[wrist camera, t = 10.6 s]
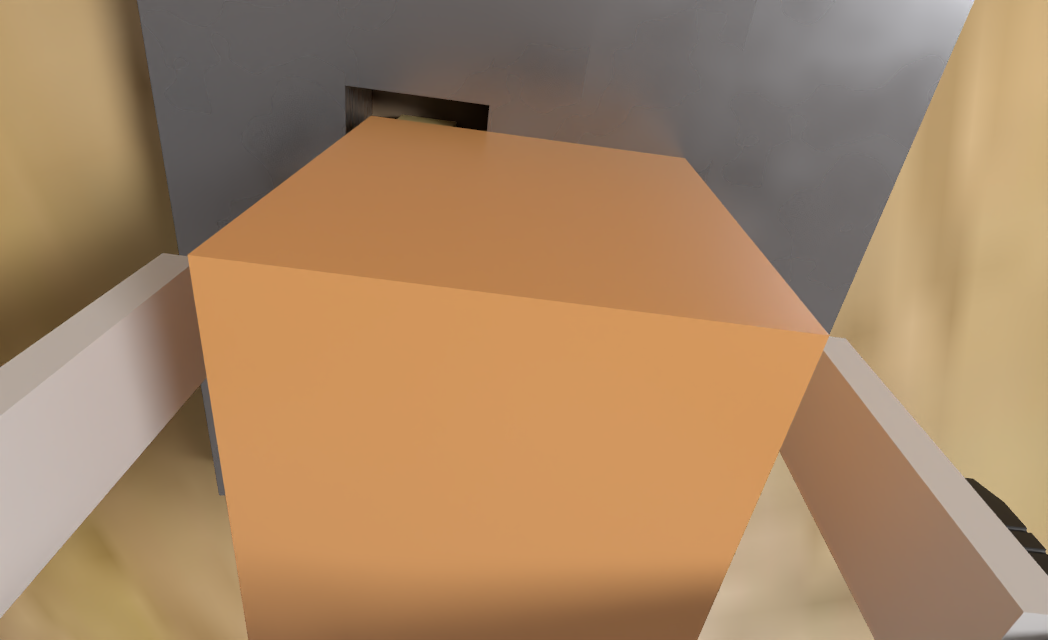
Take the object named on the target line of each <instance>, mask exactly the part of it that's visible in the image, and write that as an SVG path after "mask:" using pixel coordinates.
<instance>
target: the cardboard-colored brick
mask: <svg viewBox="0 0 1048 640" xmlns="http://www.w3.org/2000/svg"><path fill="white" fill-rule="evenodd" d="M188 262H189V268H190V274H191V281H192V287H193V293H194V300H195V306H196V312H197V319H198V325H199V331H200V337H201V344H202V350H203V356H204V363H205V369H206V375H207V382H208V388H209V394H210V400H211V407H212V413H213V419H214V426H215V432H216V438H217V445H218V451H219V457H220V464H221V470H222V476H223V482H224V489H225V495H226V501H227V508H228V514H229V520H230V527H231V533H232V539H233V546H234V552H235V558H236V564H237V571H238V577H239V583H240V590H241V596H242V602H243V609H244V615H245V621H246V627H247V634H248V640H697V639H698V637H699V635H700V632H701V630H702V628H703V625H704V623H705V621H706V619H707V616H708V614H709V612H710V609H711V607H712V605H713V602H714V600H715V598H716V596H717V593H718V591H719V589H720V586H721V584H722V582H723V579H724V577H725V575H726V573H727V570H728V568H729V566H730V563H731V561H732V559H733V556H734V554H735V552H736V550H737V547H738V545H739V543H740V540H741V538H742V536H743V534H744V531H745V529H746V527H747V524H748V522H749V520H750V517H751V515H752V513H753V511H754V508H755V506H756V504H757V501H758V499H759V497H760V494H761V492H762V490H763V488H764V485H765V483H766V481H767V478H768V476H769V474H770V471H771V469H772V467H773V465H774V462H775V460H776V458H777V455H778V453H779V451H780V448H781V446H782V444H783V442H784V439H785V437H786V435H787V432H788V430H789V428H790V426H791V423H792V421H793V419H794V416H795V414H796V412H797V409H798V407H799V405H800V403H801V400H802V398H803V396H804V393H805V391H806V389H807V386H808V384H809V382H810V380H811V377H812V375H813V373H814V370H815V368H816V366H817V363H818V361H819V359H820V357H821V354H822V352H823V350H824V347H825V345H826V343H827V340H828V338H829V336H830V335H829V334H828V333H827V332H826V331H825V329H824V328H823V327H822V326H821V324H820V323H819V322H818V321H817V319H816V318H815V317H814V316H813V315H812V313H811V312H810V311H809V310H808V308H807V307H806V306H805V305H804V304H803V302H802V301H801V300H800V299H799V297H798V296H797V295H796V294H795V292H794V291H793V290H792V289H791V288H790V286H789V285H788V284H787V283H786V281H785V280H784V279H783V278H782V276H781V275H780V274H779V273H778V272H777V270H776V269H775V268H774V267H773V265H772V264H771V263H770V262H769V261H768V259H767V258H766V257H765V256H764V254H763V253H762V252H761V251H760V249H759V248H758V247H757V246H756V245H755V243H754V242H753V241H752V240H751V238H750V237H749V236H748V235H747V234H746V232H745V231H744V230H743V229H742V227H741V226H740V225H739V224H738V222H737V221H736V220H735V219H734V218H733V216H732V215H731V214H730V213H729V211H728V210H727V209H726V208H725V207H724V205H723V204H722V203H721V202H720V200H719V199H718V198H717V197H716V195H715V194H714V193H713V192H712V191H711V189H710V188H709V187H708V186H707V184H706V183H705V182H704V181H703V180H702V178H701V177H700V176H699V175H698V173H697V172H696V171H695V170H694V168H693V167H692V166H691V165H690V164H689V162H688V161H687V160H686V159H685V158H680V157H672V156H665V155H658V154H650V153H643V152H635V151H628V150H621V149H613V148H606V147H599V146H591V145H584V144H576V143H569V142H562V141H554V140H547V139H539V138H532V137H525V136H517V135H510V134H503V133H495V132H488V131H480V130H473V129H466V128H458V127H456V122H454V121H446V120H439V119H432V118H424V117H417V116H409V115H401V116H400V117H399V118H398V119H392V118H384V117H377V116H370V117H368V118H367V119H366V120H365V121H363V122H362V123H361V124H359V125H358V126H357V127H355V128H354V129H353V130H351V131H350V132H349V133H347V134H346V135H345V136H343V137H342V138H341V139H339V140H338V141H337V142H336V143H334V144H333V145H332V146H330V147H329V148H328V149H326V150H325V151H324V152H322V153H321V154H320V155H318V156H317V157H316V158H314V159H313V160H312V161H310V162H309V163H308V164H307V165H305V166H304V167H303V168H301V169H300V170H299V171H297V172H296V173H295V174H293V175H292V176H291V177H289V178H288V179H287V180H285V181H284V182H283V183H281V184H280V185H279V186H278V187H276V188H275V189H274V190H272V191H271V192H270V193H268V194H267V195H266V196H264V197H263V198H262V199H260V200H259V201H258V202H256V203H255V204H254V205H253V206H251V207H250V208H249V209H247V210H246V211H245V212H243V213H242V214H241V215H239V216H238V217H237V218H235V219H234V220H233V221H231V222H230V223H229V224H227V225H226V226H225V227H224V228H222V229H221V230H220V231H218V232H217V233H216V234H214V235H213V236H212V237H210V238H209V239H208V240H206V241H205V242H204V243H202V244H201V245H200V246H198V247H197V248H196V249H195V250H193V251H192V252H191V253H189V254H188Z"/></svg>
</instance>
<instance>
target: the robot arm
mask: <svg viewBox="0 0 1048 640" xmlns="http://www.w3.org/2000/svg"><path fill="white" fill-rule="evenodd" d="M206 378H207V375H206V369H205V363H204V356H203V350H202V344H201V337H200V331H199V325H198V319H197V312H196V306H195V300H194V293H193V287H192V281H191V274H190V268H189V262H188V256H182V255H174V254H166V253H162V254H160V255H159V256H158V257H156V258H155V259H153V260H152V261H150V262H149V263H148V264H146V265H145V266H143V267H142V268H140V269H139V270H138V271H136V272H135V273H133V274H132V275H131V276H129V277H128V278H126V279H125V280H123V281H122V282H121V283H119V284H118V285H116V286H115V287H114V288H112V289H111V290H109V291H108V292H106V293H105V294H104V295H102V296H101V297H99V298H98V299H96V300H95V301H94V302H92V303H91V304H89V305H88V306H87V307H85V308H84V309H82V310H81V311H79V312H78V313H77V314H75V315H74V316H72V317H71V318H70V319H68V320H67V321H65V322H64V323H62V324H61V325H60V326H58V327H57V328H55V329H54V330H53V331H51V332H50V333H48V334H47V335H45V336H44V337H43V338H41V339H40V340H38V341H37V342H35V343H34V344H33V345H31V346H30V347H28V348H27V349H26V350H24V351H23V352H21V353H20V354H18V355H17V356H16V357H14V358H13V359H11V360H10V361H9V362H7V363H6V364H4V365H3V366H1V367H0V618H1V617H2V616H3V614H4V613H5V612H6V611H7V610H8V609H9V607H10V606H11V605H12V604H13V603H14V602H15V600H16V599H17V598H18V597H19V596H20V595H21V593H22V592H23V591H24V590H25V589H26V588H27V586H28V585H29V584H30V583H31V582H32V581H33V579H34V578H35V577H36V576H37V575H38V574H39V572H40V571H41V570H42V569H43V568H44V567H45V565H46V564H47V563H48V562H49V561H50V560H51V558H52V557H53V556H54V555H55V554H56V553H57V551H58V550H59V549H60V548H61V547H62V546H63V544H64V543H65V542H66V541H67V540H68V539H69V537H70V536H71V535H72V534H73V533H74V532H75V530H76V529H77V528H78V527H79V526H80V525H81V523H82V522H83V521H84V520H85V519H86V518H87V516H88V515H89V514H90V513H91V512H92V511H93V509H94V508H95V507H96V506H97V505H98V504H99V502H100V501H101V500H102V499H103V498H104V497H105V495H106V494H107V493H108V492H109V491H110V490H111V488H112V487H113V486H114V485H115V484H116V483H117V481H118V480H119V479H120V478H121V477H122V476H123V474H124V473H125V472H126V471H127V470H128V469H129V467H130V466H131V465H132V464H133V463H134V462H135V460H136V459H137V458H138V457H139V456H140V455H141V453H142V452H143V451H144V450H145V449H146V448H147V446H148V445H149V444H150V443H151V442H152V441H153V439H154V438H155V437H156V436H157V435H158V434H159V432H160V431H161V430H162V429H163V428H164V427H165V425H166V424H167V423H168V422H169V421H170V420H171V418H172V417H173V416H174V415H175V414H176V413H177V411H178V410H179V409H180V408H181V407H182V406H183V404H184V403H185V402H186V401H187V400H188V399H189V397H190V396H191V395H192V394H193V393H194V392H195V390H196V389H197V388H198V387H199V386H200V385H201V383H202V382H203V381H204V380H205V379H206ZM780 453H781V455H782V457H783V459H784V461H785V463H786V465H787V467H788V469H789V471H790V473H791V475H792V477H793V479H794V481H795V483H796V485H797V487H798V489H799V491H800V493H801V495H802V497H803V499H804V501H805V503H806V505H807V507H808V509H809V510H810V512H811V514H812V516H813V518H814V520H815V522H816V524H817V526H818V528H819V530H820V532H821V534H822V536H823V538H824V540H825V542H826V544H827V546H828V548H829V550H830V552H831V554H832V556H833V558H834V560H835V562H836V564H837V566H838V568H839V570H840V572H841V574H842V576H843V578H844V580H845V582H846V584H847V586H848V588H849V590H850V592H851V594H852V595H853V597H854V599H855V601H856V603H857V605H858V607H859V609H860V611H861V613H862V615H863V617H864V619H865V621H866V623H867V625H868V627H869V629H870V631H871V633H872V635H873V637H874V639H875V640H1048V555H1047V554H1046V552H1045V551H1046V549H1045V548H1044V547H1043V546H1042V544H1041V543H1040V542H1039V541H1038V540H1037V539H1036V538H1035V537H1034V535H1033V534H1032V533H1027V531H1026V529H1027V528H1026V526H1025V525H1024V524H1023V523H1022V522H1021V521H1020V520H1019V519H1018V517H1017V516H1016V515H1015V514H1014V513H1013V512H1012V511H1011V510H1010V508H1009V507H1008V506H1007V505H1006V504H1005V503H1004V502H1003V501H1002V500H1000V499H999V498H998V497H996V496H995V495H994V494H992V493H991V492H990V491H988V490H987V489H986V488H984V487H983V486H982V485H980V484H979V483H978V482H977V481H975V480H974V479H970V478H964V477H963V476H962V475H961V473H960V472H959V471H958V470H957V469H956V467H955V466H954V465H953V464H952V463H951V462H950V460H949V459H948V458H947V457H946V456H945V455H944V453H943V452H942V451H941V450H940V449H939V448H938V446H937V445H936V444H935V443H934V442H933V441H932V439H931V438H930V437H929V436H928V435H927V434H926V432H925V431H924V430H923V429H922V428H921V426H920V425H919V424H918V423H917V422H916V421H915V419H914V418H913V417H912V416H911V415H910V414H909V412H908V411H907V410H906V409H905V408H904V407H903V405H902V404H901V403H900V402H899V401H898V400H897V398H896V397H895V396H894V395H893V394H892V392H891V391H890V390H889V389H888V388H887V387H886V385H885V384H884V383H883V382H882V381H881V380H880V378H879V377H878V376H877V375H876V374H875V373H874V371H873V370H872V369H871V368H870V367H869V366H868V364H867V363H866V362H865V361H864V360H863V359H862V357H861V356H860V355H859V354H858V353H857V351H856V350H855V349H854V348H853V347H852V346H851V344H850V343H849V342H848V341H847V340H846V339H845V338H837V337H829V338H828V340H827V343H826V345H825V347H824V350H823V352H822V354H821V357H820V359H819V361H818V363H817V366H816V368H815V370H814V373H813V375H812V377H811V380H810V382H809V384H808V386H807V389H806V391H805V393H804V396H803V398H802V400H801V403H800V405H799V407H798V409H797V412H796V414H795V416H794V419H793V421H792V423H791V426H790V428H789V430H788V432H787V435H786V437H785V439H784V442H783V444H782V446H781V448H780Z"/></svg>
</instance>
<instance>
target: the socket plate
mask: <svg viewBox="0 0 1048 640" xmlns="http://www.w3.org/2000/svg"><path fill="white" fill-rule="evenodd" d="M973 2H974V0H137V3H138V9H139V15H140V21H141V27H142V33H143V39H144V45H145V51H146V57H147V63H148V69H149V75H150V81H151V87H152V93H153V99H154V105H155V111H156V117H157V123H158V129H159V135H160V142H161V148H162V154H163V160H164V166H165V172H166V178H167V184H168V190H169V196H170V202H171V208H172V214H173V220H174V226H175V232H176V238H177V244H178V250H179V255H182V256H188V254H189V253H191V252H192V251H193V250H195V249H196V248H197V247H198V246H200V245H201V244H202V243H204V242H205V241H206V240H208V239H209V238H210V237H212V236H213V235H214V234H216V233H217V232H218V231H220V230H221V229H222V228H224V227H225V226H226V225H227V224H229V223H230V222H231V221H233V220H234V219H235V218H237V217H238V216H239V215H241V214H242V213H243V212H245V211H246V210H247V209H249V208H250V207H251V206H253V205H254V204H255V203H256V202H258V201H259V200H260V199H262V198H263V197H264V196H266V195H267V194H268V193H270V192H271V191H272V190H274V189H275V188H276V187H278V186H279V185H280V184H281V183H283V182H284V181H285V180H287V179H288V178H289V177H291V176H292V175H293V174H295V173H296V172H297V171H299V170H300V169H301V168H303V167H304V166H305V165H307V164H308V163H309V162H310V161H312V160H313V159H314V158H316V157H317V156H318V155H320V154H321V153H322V152H324V151H325V150H326V149H328V148H329V147H330V146H332V145H333V144H334V143H336V142H337V141H338V140H339V139H341V138H342V137H343V136H345V135H346V134H347V133H349V132H350V131H351V130H353V129H354V128H355V127H357V126H358V125H359V124H361V123H362V122H363V121H365V120H366V119H367V118H368V117H370V116H372V89H375V90H382V91H389V92H397V93H404V94H411V95H418V96H426V97H433V98H440V99H448V100H455V101H462V102H470V103H477V104H484V105H489V115H488V126H487V131H488V132H495V133H503V134H510V135H517V136H525V137H532V138H539V139H547V140H554V141H562V142H569V143H576V144H584V145H591V146H599V147H606V148H613V149H621V150H628V151H635V152H643V153H650V154H658V155H665V156H672V157H680V158H685V159H686V160H687V161H688V162H689V164H690V165H691V166H692V167H693V168H694V170H695V171H696V172H697V173H698V175H699V176H700V177H701V178H702V180H703V181H704V182H705V183H706V184H707V186H708V187H709V188H710V189H711V191H712V192H713V193H714V194H715V195H716V197H717V198H718V199H719V200H720V202H721V203H722V204H723V205H724V207H725V208H726V209H727V210H728V211H729V213H730V214H731V215H732V216H733V218H734V219H735V220H736V221H737V222H738V224H739V225H740V226H741V227H742V229H743V230H744V231H745V232H746V234H747V235H748V236H749V237H750V238H751V240H752V241H753V242H754V243H755V245H756V246H757V247H758V248H759V249H760V251H761V252H762V253H763V254H764V256H765V257H766V258H767V259H768V261H769V262H770V263H771V264H772V265H773V267H774V268H775V269H776V270H777V272H778V273H779V274H780V275H781V276H782V278H783V279H784V280H785V281H786V283H787V284H788V285H789V286H790V288H791V289H792V290H793V291H794V292H795V294H796V295H797V296H798V297H799V299H800V300H801V301H802V302H803V304H804V305H805V306H806V307H807V308H808V310H809V311H810V312H811V313H812V315H813V316H814V317H815V318H816V319H817V321H818V322H819V323H820V324H821V326H822V327H823V328H824V329H825V331H826V332H827V333H828V334H830V332H831V329H832V327H833V325H834V322H835V320H836V318H837V315H838V313H839V311H840V309H841V306H842V304H843V302H844V299H845V297H846V295H847V292H848V290H849V288H850V286H851V283H852V281H853V279H854V276H855V274H856V272H857V269H858V267H859V265H860V263H861V260H862V258H863V256H864V253H865V251H866V249H867V246H868V244H869V242H870V239H871V237H872V235H873V233H874V230H875V228H876V226H877V223H878V221H879V219H880V216H881V214H882V212H883V210H884V207H885V205H886V203H887V200H888V198H889V196H890V193H891V191H892V189H893V186H894V184H895V182H896V180H897V177H898V175H899V173H900V170H901V168H902V166H903V163H904V161H905V159H906V157H907V154H908V152H909V150H910V147H911V145H912V143H913V140H914V138H915V136H916V134H917V131H918V129H919V127H920V124H921V122H922V120H923V117H924V115H925V113H926V110H927V108H928V106H929V104H930V101H931V99H932V97H933V94H934V92H935V90H936V87H937V85H938V83H939V81H940V78H941V76H942V74H943V71H944V69H945V67H946V64H947V62H948V60H949V57H950V55H951V53H952V51H953V48H954V46H955V44H956V41H957V39H958V37H959V34H960V32H961V30H962V28H963V25H964V23H965V21H966V18H967V16H968V14H969V11H970V9H971V7H972V5H973ZM201 389H202V395H203V401H204V407H205V413H206V419H207V425H208V431H209V437H210V443H211V449H212V455H213V461H214V467H215V473H216V479H217V485H218V491H219V495H225V489H224V482H223V476H222V470H221V464H220V457H219V451H218V445H217V438H216V432H215V426H214V419H213V413H212V407H211V400H210V394H209V388H208V382H207V378H206V379H205V380H204V381H203V382H202V383H201ZM225 496H226V495H225Z"/></svg>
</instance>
